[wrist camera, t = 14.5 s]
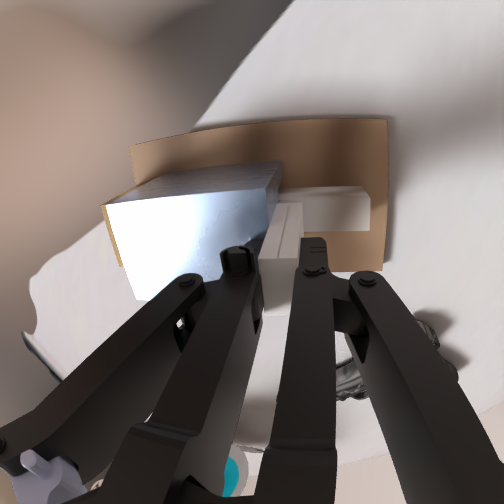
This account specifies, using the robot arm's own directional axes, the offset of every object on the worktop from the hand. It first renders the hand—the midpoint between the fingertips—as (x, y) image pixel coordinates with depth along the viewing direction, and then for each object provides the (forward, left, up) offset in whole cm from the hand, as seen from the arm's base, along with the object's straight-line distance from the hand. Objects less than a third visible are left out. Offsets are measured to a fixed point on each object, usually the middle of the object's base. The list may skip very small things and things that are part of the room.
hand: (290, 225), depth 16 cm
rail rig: (+3, 0, -6) cm, 6 cm away
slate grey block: (+5, 0, -5) cm, 7 cm away
